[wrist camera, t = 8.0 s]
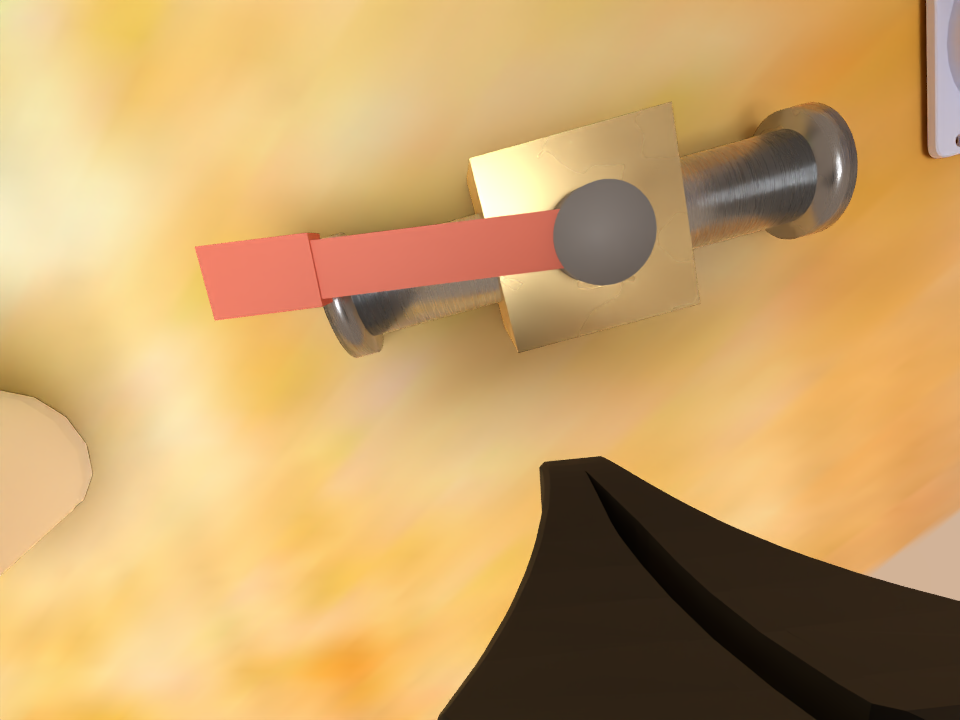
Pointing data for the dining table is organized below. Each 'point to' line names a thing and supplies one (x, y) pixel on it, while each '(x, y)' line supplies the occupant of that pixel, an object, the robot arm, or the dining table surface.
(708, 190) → the valve body
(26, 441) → the foam cup
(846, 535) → the dining table surface
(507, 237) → the lever
